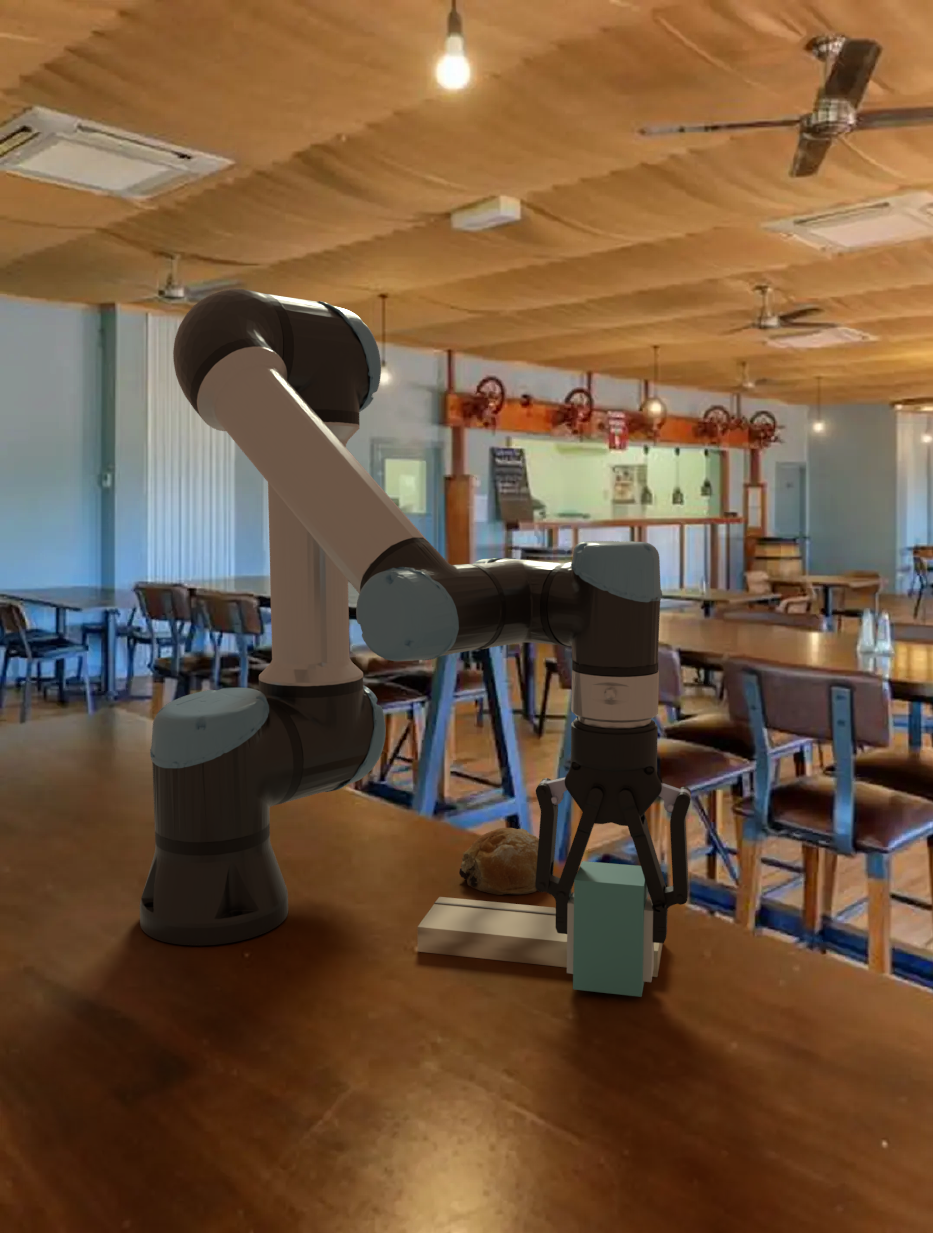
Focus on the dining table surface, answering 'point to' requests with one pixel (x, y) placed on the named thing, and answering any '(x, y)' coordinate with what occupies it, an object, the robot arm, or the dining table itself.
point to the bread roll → (502, 862)
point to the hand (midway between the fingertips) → (610, 970)
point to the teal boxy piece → (609, 928)
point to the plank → (497, 932)
